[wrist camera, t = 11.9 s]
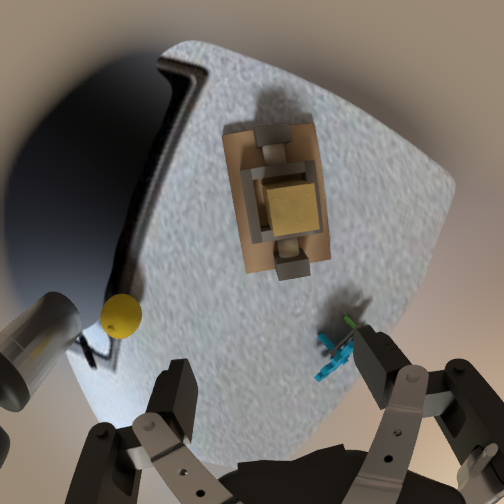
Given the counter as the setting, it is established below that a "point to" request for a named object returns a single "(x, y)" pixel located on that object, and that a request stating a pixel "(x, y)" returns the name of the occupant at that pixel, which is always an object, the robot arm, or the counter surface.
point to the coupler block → (290, 206)
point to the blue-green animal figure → (337, 351)
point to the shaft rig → (252, 202)
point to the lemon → (121, 316)
